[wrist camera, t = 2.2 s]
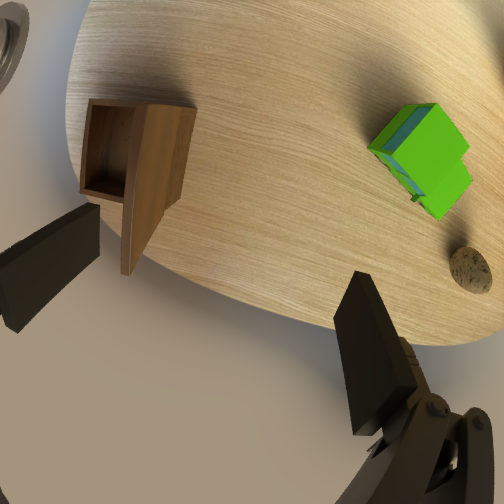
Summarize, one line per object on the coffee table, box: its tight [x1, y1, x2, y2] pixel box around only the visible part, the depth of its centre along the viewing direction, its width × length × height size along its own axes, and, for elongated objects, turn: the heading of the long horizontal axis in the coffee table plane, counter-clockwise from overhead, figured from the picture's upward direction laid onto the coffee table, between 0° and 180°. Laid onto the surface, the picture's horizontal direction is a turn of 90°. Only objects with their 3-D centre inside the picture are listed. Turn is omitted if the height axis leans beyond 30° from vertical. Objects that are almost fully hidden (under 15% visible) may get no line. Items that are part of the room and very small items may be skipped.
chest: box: [80, 99, 197, 211], centre depth 33 cm, size 13×13×7 cm
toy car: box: [367, 103, 473, 221], centre depth 29 cm, size 10×13×10 cm
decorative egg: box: [450, 247, 492, 294], centre depth 34 cm, size 6×6×10 cm
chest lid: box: [121, 103, 182, 276], centre depth 24 cm, size 13×13×1 cm
